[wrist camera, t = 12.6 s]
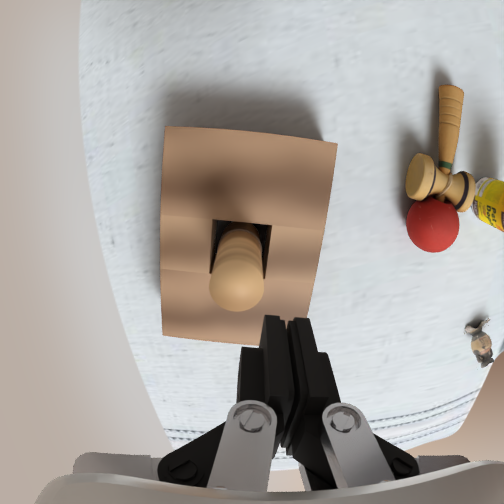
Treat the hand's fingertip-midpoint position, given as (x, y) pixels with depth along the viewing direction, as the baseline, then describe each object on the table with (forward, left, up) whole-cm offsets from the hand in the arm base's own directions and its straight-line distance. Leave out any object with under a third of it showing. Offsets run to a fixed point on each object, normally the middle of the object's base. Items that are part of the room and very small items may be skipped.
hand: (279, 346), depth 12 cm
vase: (+14, +35, -21) cm, 43 cm away
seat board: (+2, -2, -21) cm, 21 cm away
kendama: (-8, +18, -21) cm, 29 cm away
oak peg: (+2, -2, -21) cm, 21 cm away
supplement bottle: (-6, +27, -21) cm, 35 cm away
